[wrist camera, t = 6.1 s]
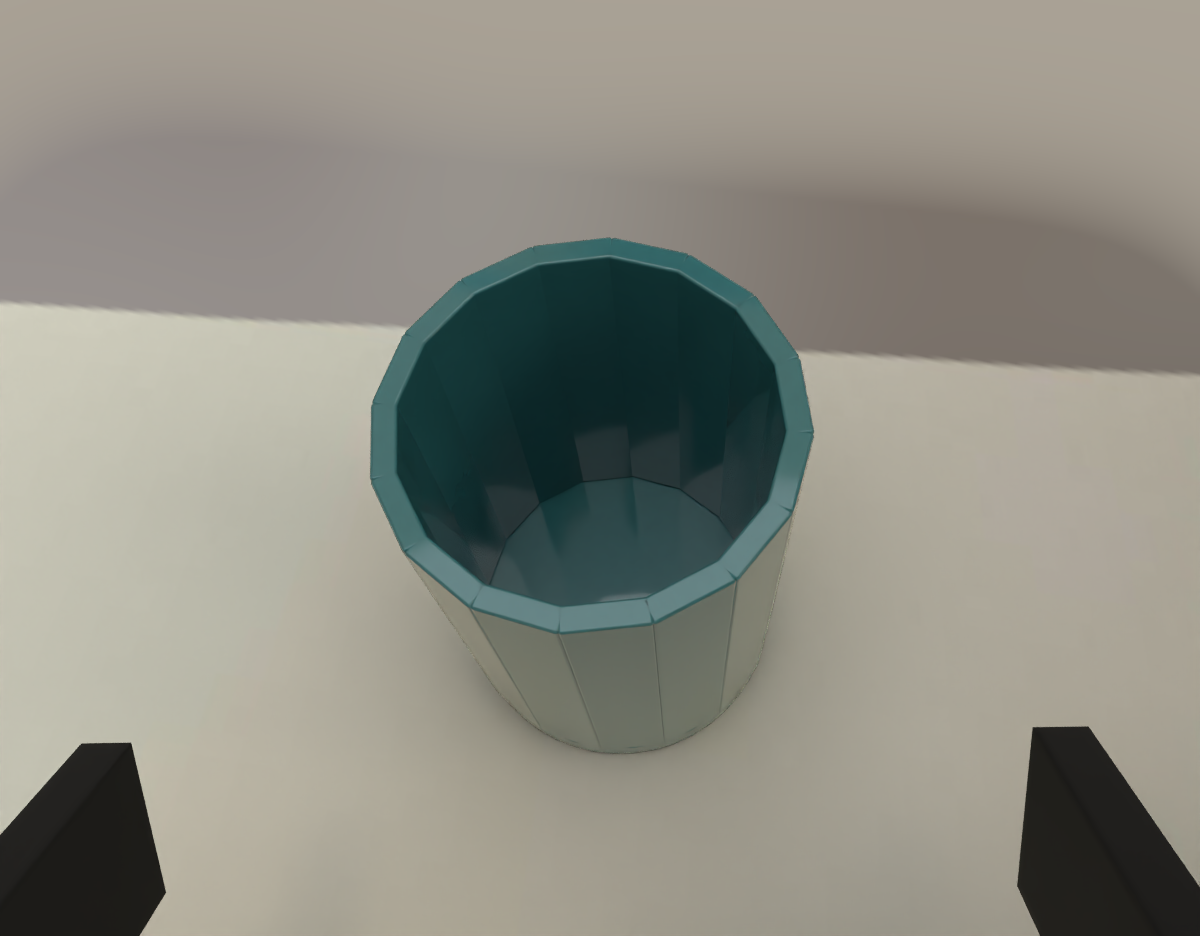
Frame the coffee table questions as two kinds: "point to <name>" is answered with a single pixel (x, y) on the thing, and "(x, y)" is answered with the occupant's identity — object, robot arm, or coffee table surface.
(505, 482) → the pot
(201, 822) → the coffee table surface
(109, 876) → the robot arm
